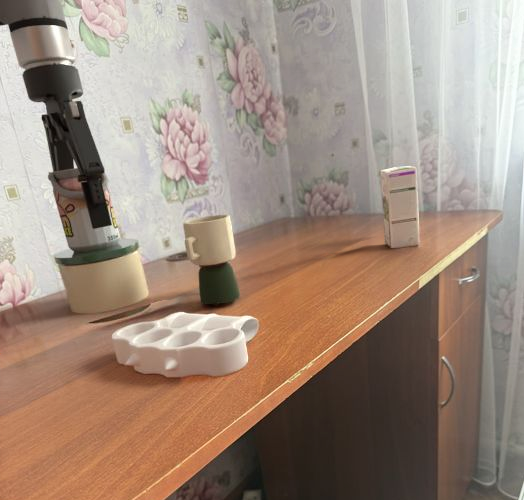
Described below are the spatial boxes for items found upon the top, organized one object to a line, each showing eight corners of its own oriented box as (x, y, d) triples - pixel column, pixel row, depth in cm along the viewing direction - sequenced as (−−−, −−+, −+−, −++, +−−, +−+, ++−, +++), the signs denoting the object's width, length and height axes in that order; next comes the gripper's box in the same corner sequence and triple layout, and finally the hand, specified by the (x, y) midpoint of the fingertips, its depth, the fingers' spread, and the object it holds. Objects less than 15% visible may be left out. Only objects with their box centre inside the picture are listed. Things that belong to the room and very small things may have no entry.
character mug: (223, 291, 85) (209, 213, 80) (258, 292, 81) (246, 211, 76) (181, 312, 76) (163, 227, 72) (218, 315, 73) (202, 225, 68)
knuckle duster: (282, 337, 61) (213, 392, 50) (170, 328, 70) (90, 373, 59) (279, 311, 60) (207, 361, 48) (165, 305, 69) (83, 346, 57)
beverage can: (128, 245, 77) (109, 163, 73) (72, 256, 74) (48, 172, 70) (117, 239, 85) (99, 165, 81) (66, 249, 82) (44, 173, 78)
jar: (63, 314, 85) (45, 253, 82) (135, 293, 92) (121, 236, 88) (85, 330, 75) (65, 261, 71) (165, 305, 81) (150, 241, 78)
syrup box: (420, 245, 96) (418, 165, 91) (389, 249, 97) (386, 170, 91) (412, 239, 102) (410, 164, 96) (383, 243, 102) (379, 169, 96)
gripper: (101, 47, 62) (140, 223, 71) (56, 81, 81) (91, 218, 89) (39, 48, 59) (88, 234, 67) (7, 84, 77) (49, 226, 86)
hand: (90, 225), depth 78 cm, fingers open, 11 cm apart
